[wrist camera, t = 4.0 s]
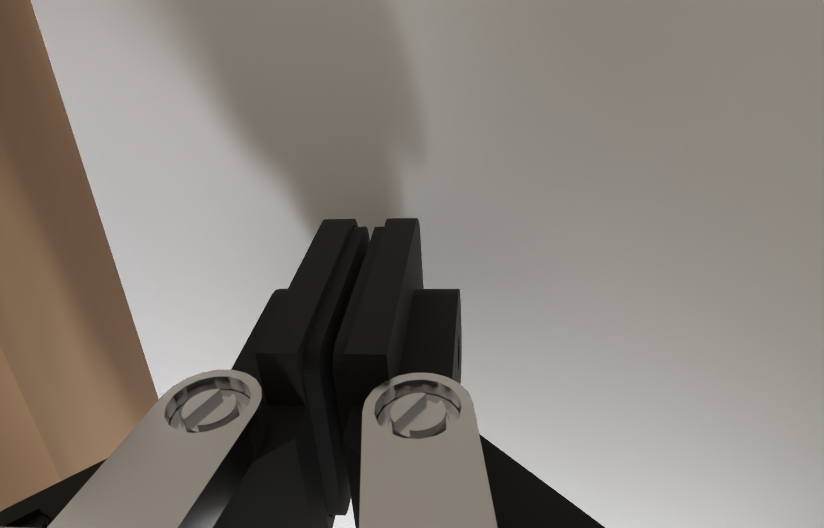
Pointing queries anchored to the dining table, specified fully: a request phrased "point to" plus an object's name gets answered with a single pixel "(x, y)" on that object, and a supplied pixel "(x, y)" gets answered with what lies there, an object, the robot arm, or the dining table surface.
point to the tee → (55, 288)
